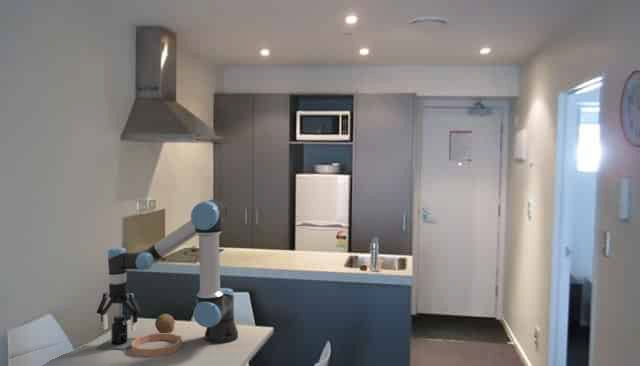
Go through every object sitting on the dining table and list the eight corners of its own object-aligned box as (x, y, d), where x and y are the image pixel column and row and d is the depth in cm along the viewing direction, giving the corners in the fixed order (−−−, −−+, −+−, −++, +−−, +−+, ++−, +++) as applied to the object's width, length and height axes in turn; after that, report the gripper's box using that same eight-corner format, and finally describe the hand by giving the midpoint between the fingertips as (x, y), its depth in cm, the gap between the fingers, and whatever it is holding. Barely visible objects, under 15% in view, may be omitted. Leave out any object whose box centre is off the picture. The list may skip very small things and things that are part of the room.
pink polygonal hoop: (189, 340, 246) (188, 334, 246) (169, 357, 225) (169, 350, 225) (146, 338, 249) (145, 332, 249) (122, 354, 229) (122, 347, 229)
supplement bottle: (122, 345, 238) (121, 318, 238) (108, 344, 240) (107, 318, 239) (130, 340, 245) (130, 314, 244) (117, 339, 246) (116, 313, 246)
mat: (141, 339, 248) (141, 338, 248) (125, 350, 234) (125, 348, 234) (113, 338, 250) (113, 336, 250) (96, 348, 237) (96, 347, 237)
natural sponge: (158, 331, 259) (158, 311, 259) (177, 331, 259) (177, 311, 259) (153, 338, 250) (152, 316, 250) (172, 337, 250) (171, 316, 250)
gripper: (148, 281, 243) (149, 327, 244) (96, 280, 247) (98, 325, 248) (139, 284, 236) (141, 332, 236) (87, 283, 239) (89, 331, 240)
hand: (119, 329), depth 242 cm, fingers open, 13 cm apart
